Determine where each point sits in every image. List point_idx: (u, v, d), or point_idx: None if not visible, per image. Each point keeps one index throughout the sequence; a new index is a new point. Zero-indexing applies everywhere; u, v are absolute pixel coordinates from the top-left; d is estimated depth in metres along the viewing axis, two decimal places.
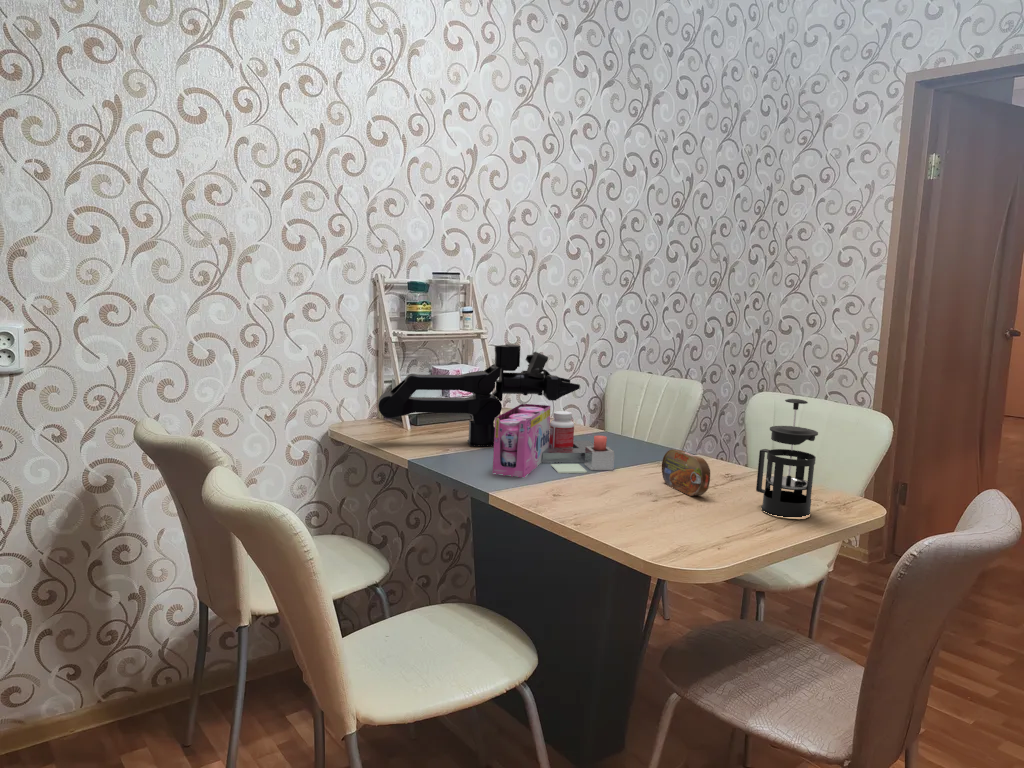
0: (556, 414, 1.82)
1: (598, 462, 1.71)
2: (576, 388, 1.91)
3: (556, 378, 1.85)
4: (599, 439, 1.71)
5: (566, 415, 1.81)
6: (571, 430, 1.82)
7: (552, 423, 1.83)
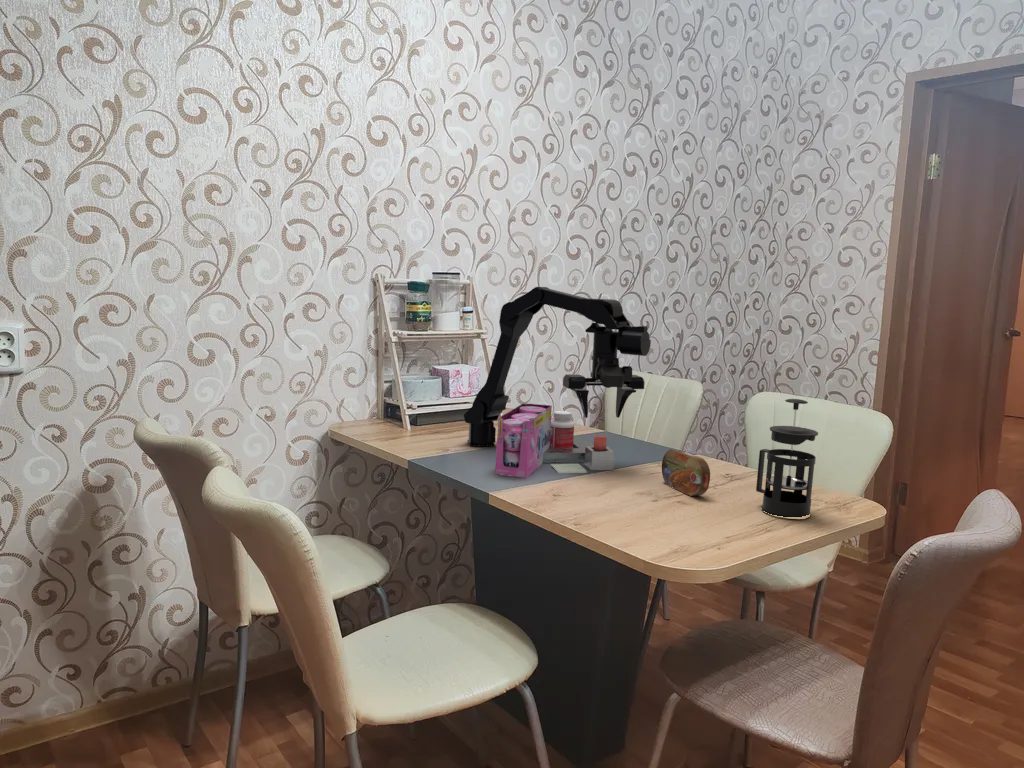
0: (556, 414, 1.82)
1: (598, 462, 1.71)
2: (583, 413, 1.71)
3: (569, 387, 1.67)
4: (599, 439, 1.71)
5: (566, 415, 1.81)
6: (571, 430, 1.82)
7: (552, 423, 1.83)
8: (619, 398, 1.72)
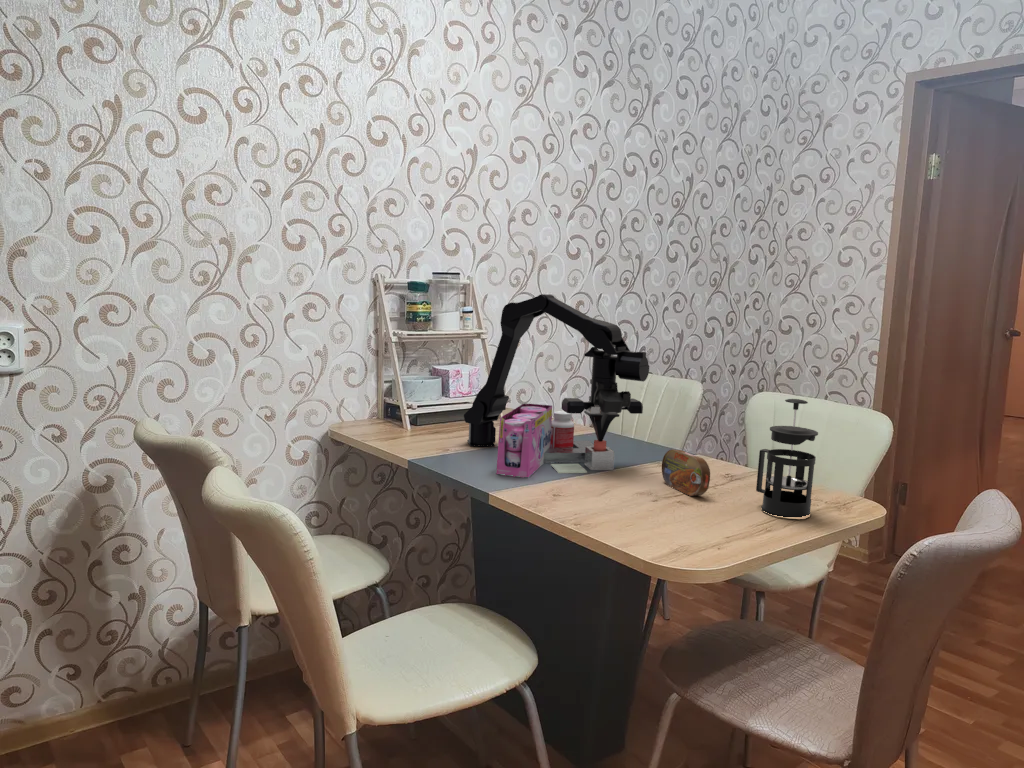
0: (556, 414, 1.82)
1: (598, 462, 1.71)
2: (597, 436, 1.73)
3: (568, 411, 1.67)
4: (599, 443, 1.71)
5: (566, 415, 1.81)
6: (571, 430, 1.82)
7: (552, 423, 1.83)
8: (602, 422, 1.72)
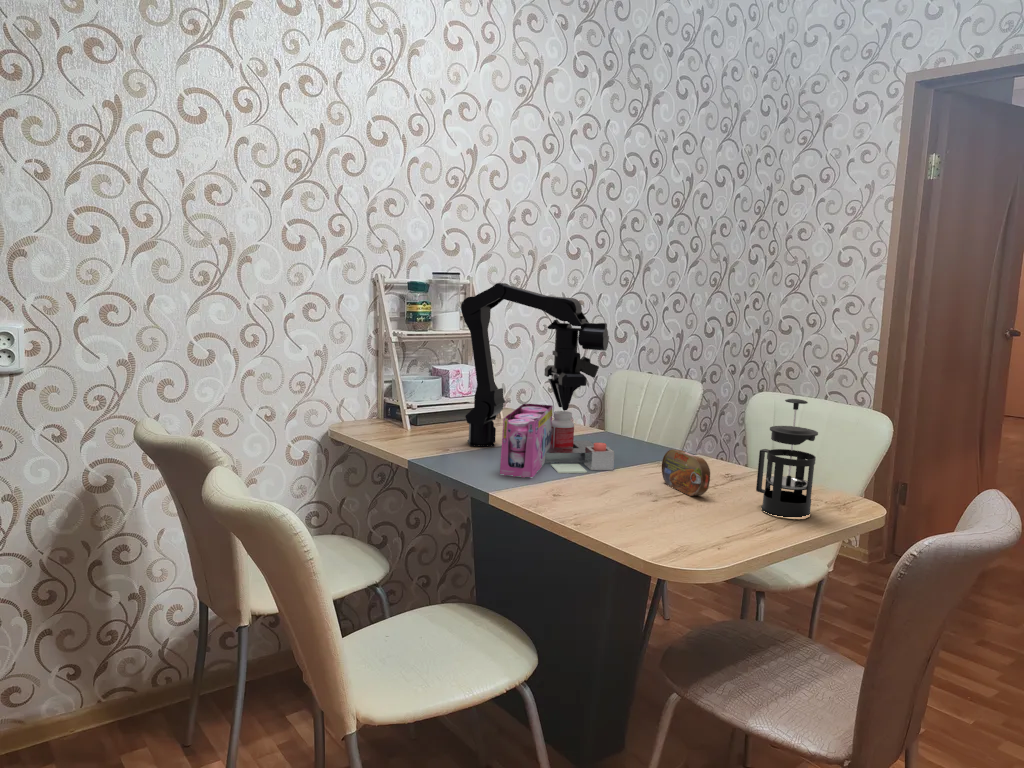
0: (556, 414, 1.82)
1: (598, 462, 1.71)
2: (564, 406, 1.81)
3: (585, 384, 1.74)
4: (599, 446, 1.72)
5: (566, 415, 1.81)
6: (571, 430, 1.82)
7: (552, 423, 1.83)
8: None
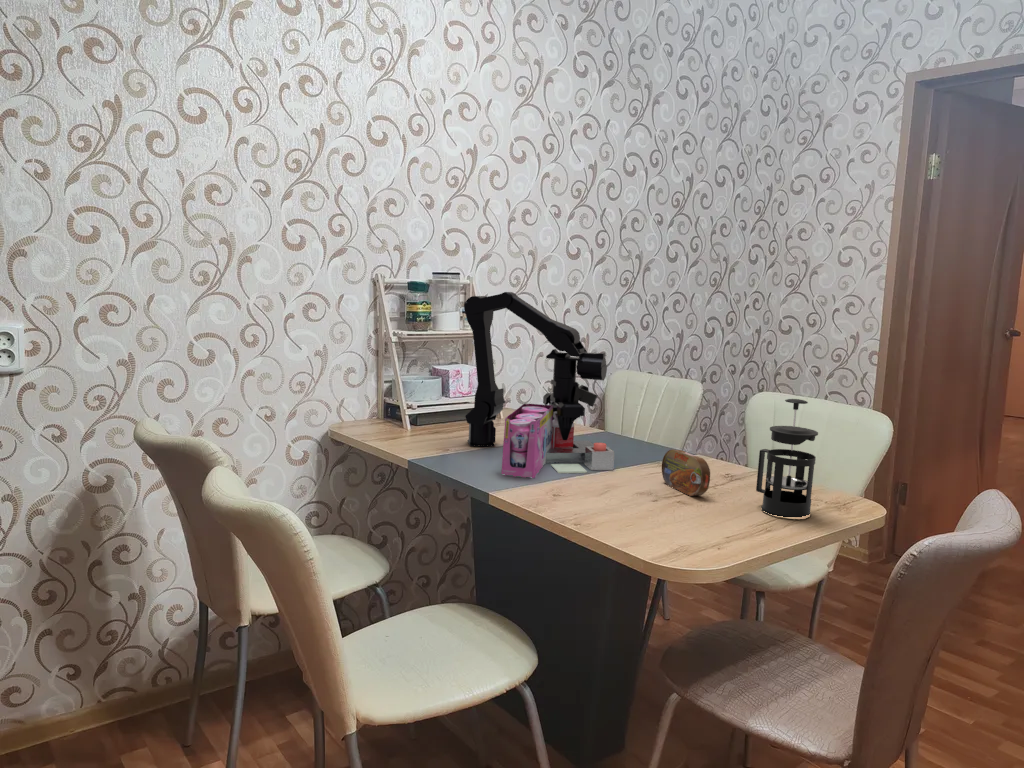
0: None
1: (598, 462, 1.71)
2: (563, 436, 1.81)
3: (583, 414, 1.75)
4: (599, 446, 1.72)
5: None
6: (571, 430, 1.82)
7: (552, 423, 1.83)
8: None
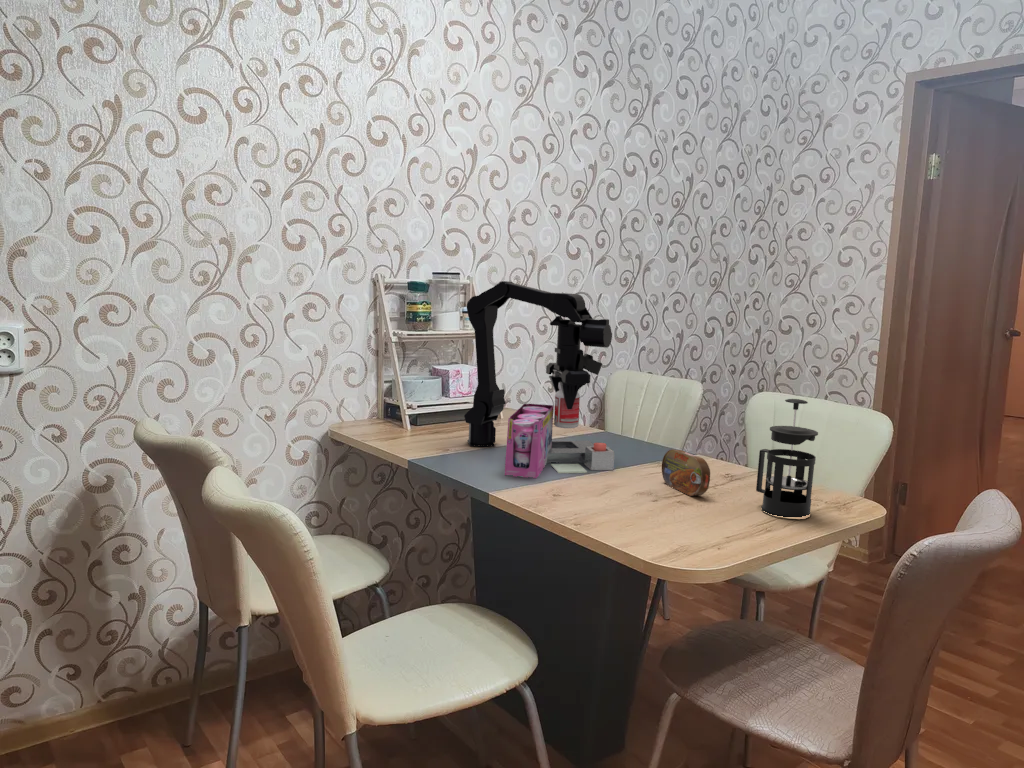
0: None
1: (598, 462, 1.71)
2: (568, 405, 1.76)
3: (589, 381, 1.70)
4: (599, 446, 1.72)
5: None
6: (577, 400, 1.78)
7: (557, 394, 1.78)
8: None
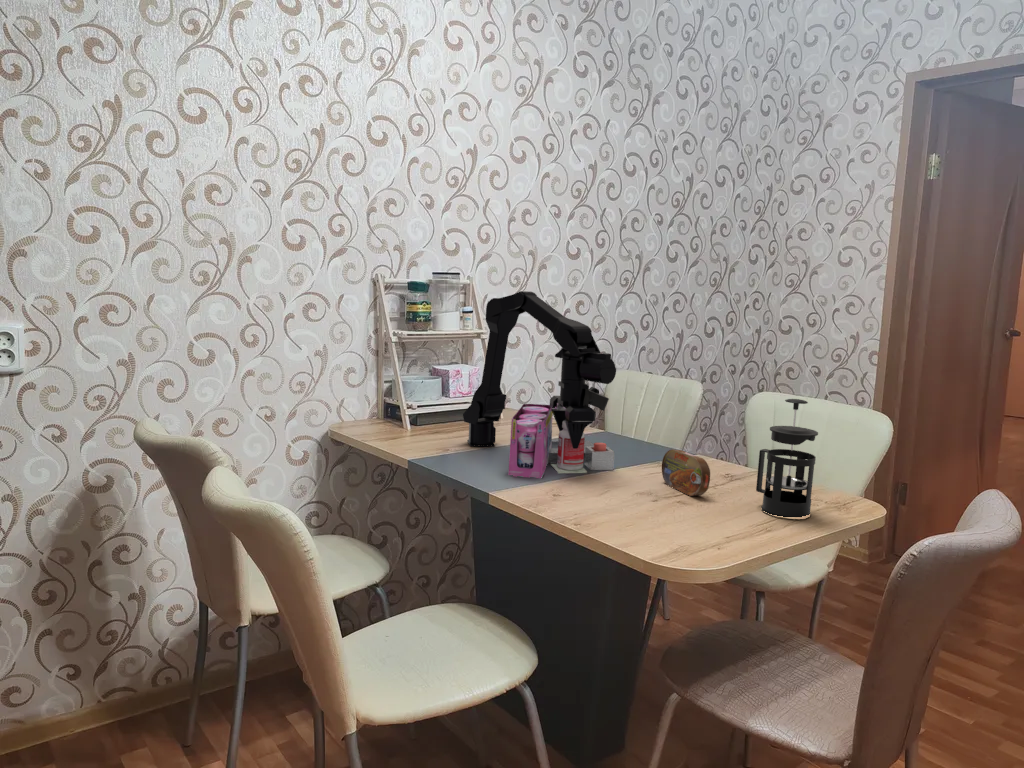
0: (565, 424, 1.68)
1: (598, 462, 1.71)
2: (574, 444, 1.65)
3: (594, 419, 1.60)
4: (599, 446, 1.72)
5: None
6: (582, 441, 1.68)
7: (561, 433, 1.68)
8: (565, 420, 1.74)
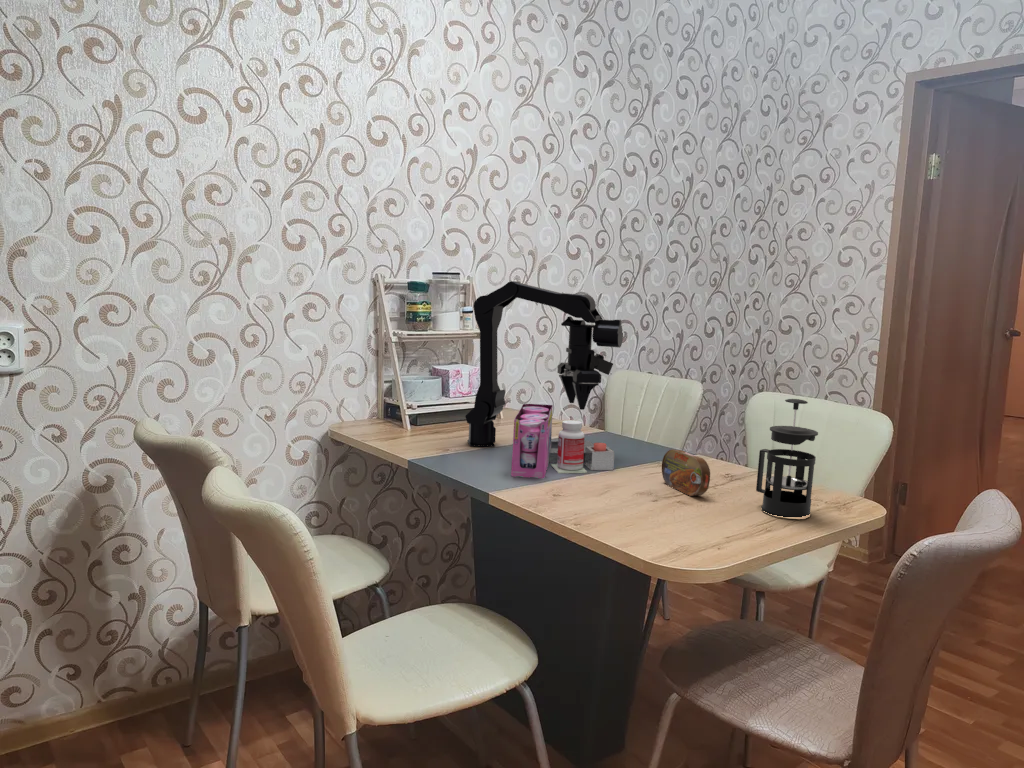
0: (565, 424, 1.68)
1: (598, 462, 1.71)
2: (581, 406, 1.77)
3: (600, 381, 1.73)
4: (599, 446, 1.72)
5: (576, 425, 1.67)
6: (582, 441, 1.68)
7: (561, 433, 1.68)
8: (572, 385, 1.86)
